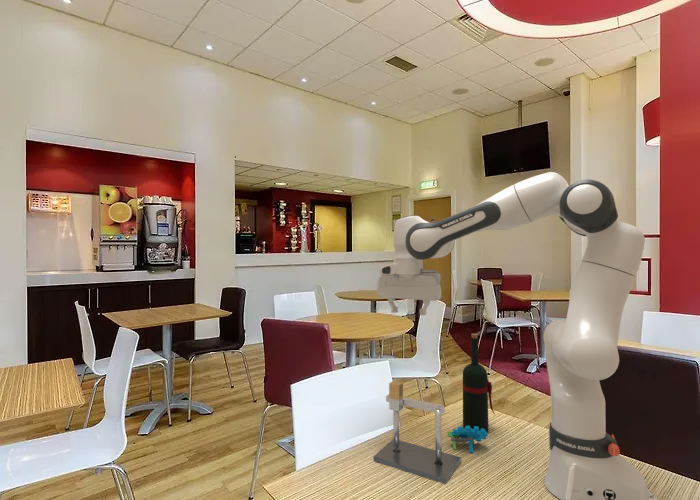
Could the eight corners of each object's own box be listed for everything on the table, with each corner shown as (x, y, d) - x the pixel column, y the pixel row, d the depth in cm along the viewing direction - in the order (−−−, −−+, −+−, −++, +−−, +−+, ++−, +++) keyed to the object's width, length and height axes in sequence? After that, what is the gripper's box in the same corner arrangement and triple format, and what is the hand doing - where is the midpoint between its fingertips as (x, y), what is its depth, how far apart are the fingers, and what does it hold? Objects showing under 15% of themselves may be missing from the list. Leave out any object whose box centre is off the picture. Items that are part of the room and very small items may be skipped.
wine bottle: (499, 435, 120) (498, 336, 120) (466, 435, 120) (465, 336, 120) (490, 424, 127) (489, 331, 128) (459, 424, 128) (458, 331, 128)
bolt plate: (461, 461, 105) (460, 457, 105) (445, 484, 94) (445, 478, 94) (393, 442, 115) (393, 438, 115) (373, 460, 105) (373, 456, 105)
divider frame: (446, 458, 104) (445, 405, 104) (440, 465, 101) (440, 411, 101) (389, 442, 113) (389, 394, 113) (382, 448, 110) (382, 398, 110)
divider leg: (403, 448, 108) (402, 383, 109) (399, 451, 106) (399, 385, 107) (393, 445, 110) (393, 381, 110) (389, 448, 108) (389, 383, 108)
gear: (488, 437, 115) (485, 422, 109) (491, 458, 111) (488, 445, 104) (450, 437, 118) (445, 423, 112) (451, 458, 114) (446, 445, 108)
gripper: (444, 268, 118) (444, 315, 118) (384, 268, 129) (384, 310, 129) (436, 269, 113) (437, 318, 112) (374, 268, 124) (374, 312, 123)
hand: (408, 313), depth 121 cm, fingers open, 8 cm apart
